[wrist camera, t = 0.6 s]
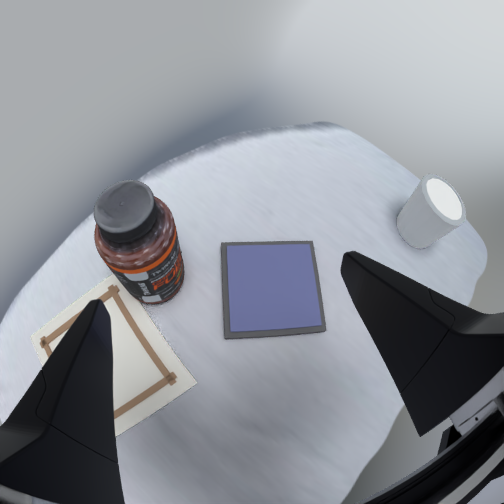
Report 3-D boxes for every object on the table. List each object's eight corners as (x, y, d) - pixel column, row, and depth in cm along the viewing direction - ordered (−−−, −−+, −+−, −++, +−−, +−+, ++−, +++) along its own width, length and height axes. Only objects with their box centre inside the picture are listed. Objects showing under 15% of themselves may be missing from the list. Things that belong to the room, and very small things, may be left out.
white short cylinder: (428, 211, 32) (456, 181, 26) (438, 257, 29) (473, 230, 23) (388, 201, 32) (415, 166, 26) (396, 249, 29) (430, 218, 23)
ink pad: (323, 331, 25) (327, 330, 24) (224, 339, 24) (224, 337, 23) (310, 243, 28) (313, 239, 27) (221, 245, 27) (221, 241, 26)
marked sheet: (197, 382, 22) (197, 383, 21) (92, 450, 17) (90, 451, 17) (120, 269, 25) (118, 267, 25) (31, 337, 21) (28, 336, 20)
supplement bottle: (172, 315, 24) (141, 263, 14) (115, 293, 24) (61, 232, 14) (194, 257, 27) (185, 179, 17) (141, 240, 27) (109, 161, 17)
